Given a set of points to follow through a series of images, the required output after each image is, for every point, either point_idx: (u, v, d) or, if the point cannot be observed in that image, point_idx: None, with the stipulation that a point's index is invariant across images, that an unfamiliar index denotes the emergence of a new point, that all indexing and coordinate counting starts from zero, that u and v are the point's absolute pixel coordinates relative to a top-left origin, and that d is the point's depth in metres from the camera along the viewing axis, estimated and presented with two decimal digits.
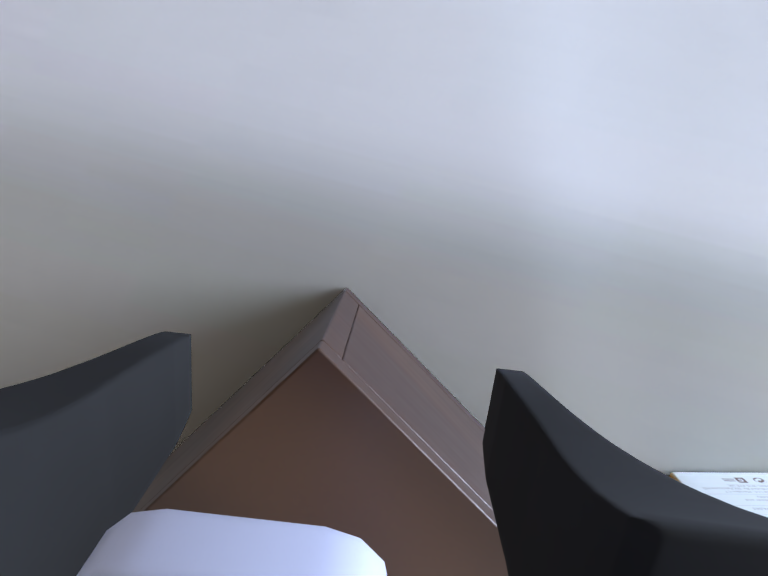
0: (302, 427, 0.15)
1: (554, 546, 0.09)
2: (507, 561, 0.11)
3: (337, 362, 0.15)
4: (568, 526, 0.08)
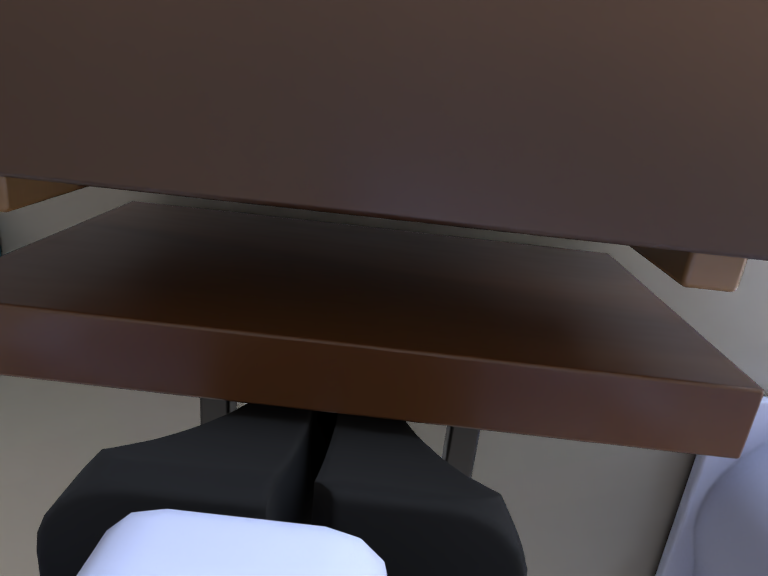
0: None
1: None
2: None
3: None
4: None
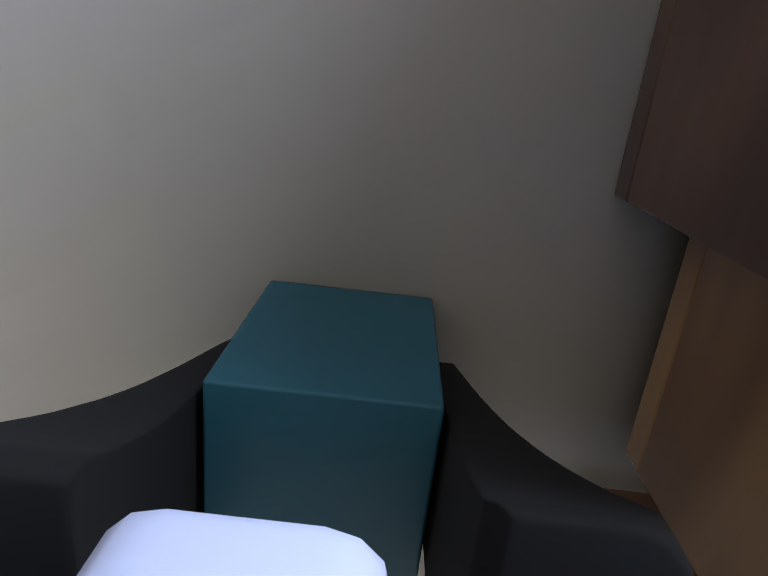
0: None
1: (447, 534, 0.09)
2: (424, 552, 0.11)
3: None
4: (455, 513, 0.08)
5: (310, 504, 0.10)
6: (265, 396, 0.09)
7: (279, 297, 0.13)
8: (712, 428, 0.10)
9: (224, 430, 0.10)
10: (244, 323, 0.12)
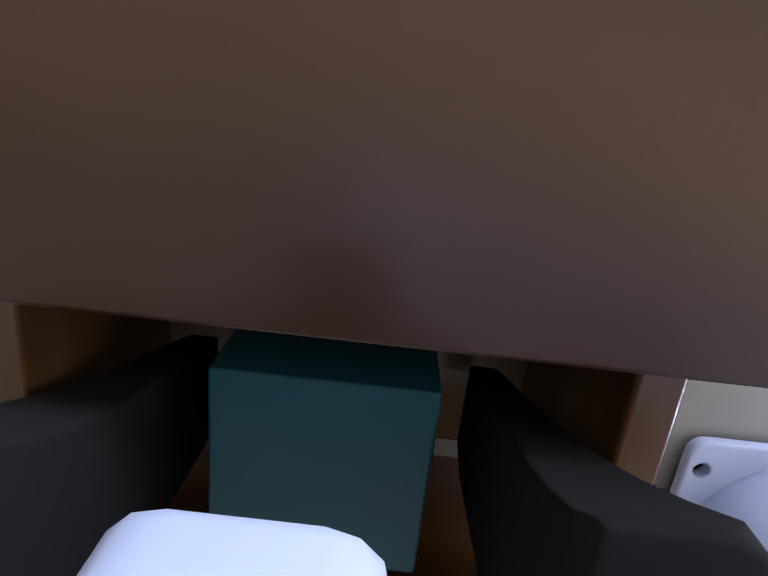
0: None
1: (514, 542, 0.09)
2: (476, 557, 0.11)
3: None
4: (525, 521, 0.08)
5: (313, 488, 0.10)
6: (268, 383, 0.10)
7: None
8: None
9: (229, 416, 0.10)
10: None
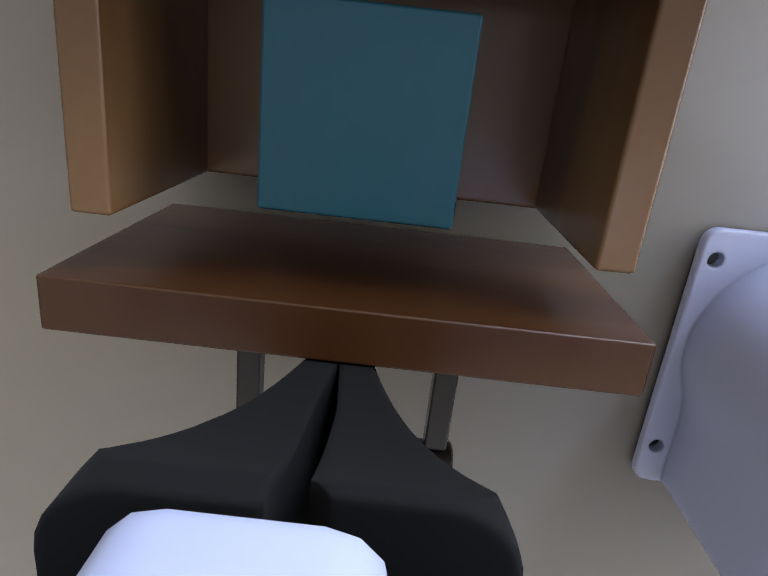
0: None
1: None
2: None
3: None
4: None
5: (358, 130, 0.11)
6: (319, 5, 0.10)
7: None
8: None
9: (281, 46, 0.11)
10: None
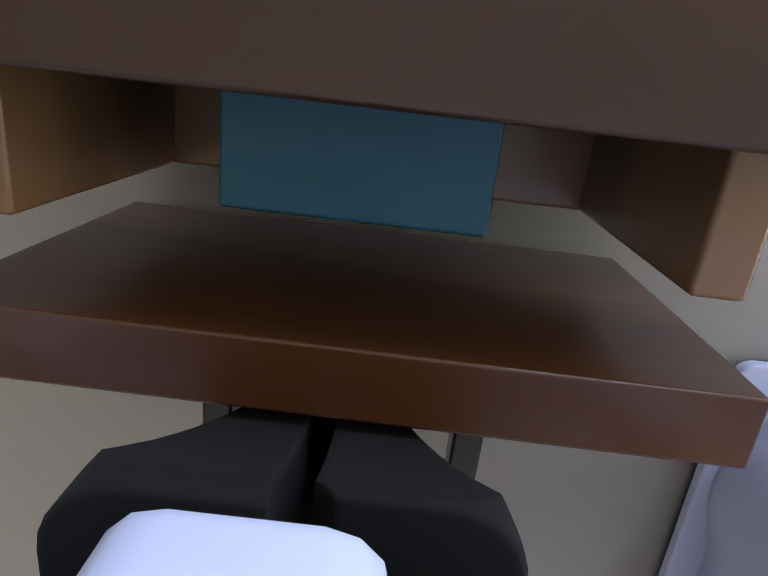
0: None
1: None
2: None
3: None
4: None
5: None
6: None
7: None
8: None
9: None
10: None
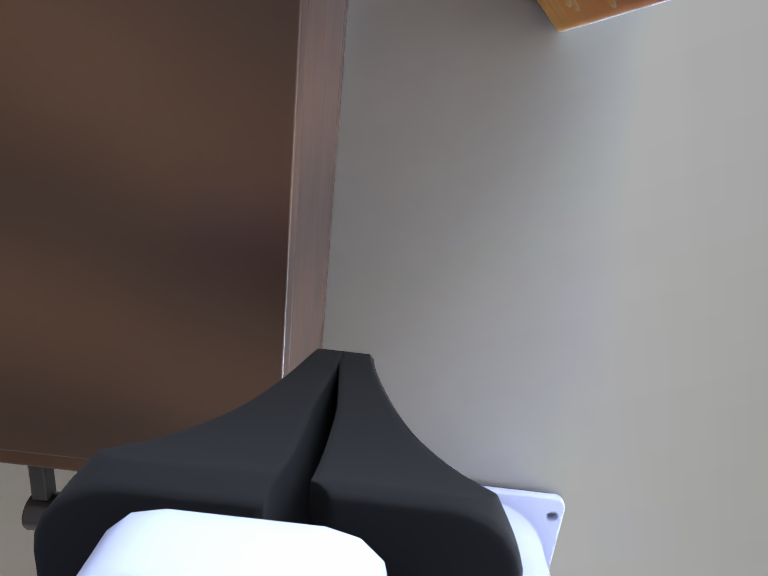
0: None
1: None
2: None
3: None
4: None
5: None
6: None
7: None
8: None
9: None
10: None
